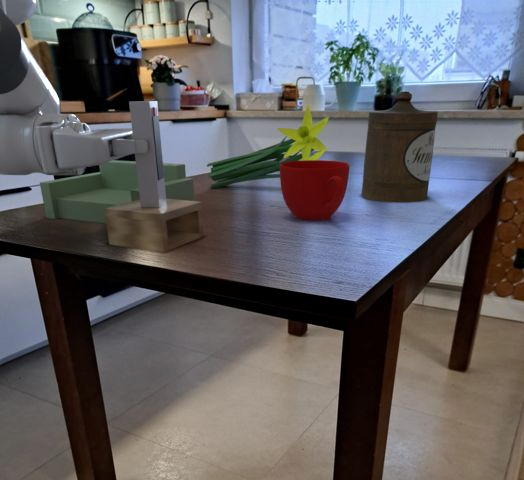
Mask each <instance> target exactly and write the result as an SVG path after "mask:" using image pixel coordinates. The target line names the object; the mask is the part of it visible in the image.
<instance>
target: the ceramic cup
mask: <svg viewBox="0 0 524 480" xmlns="http://www.w3.org/2000/svg"><path fill="white" fill-rule="evenodd" d="M279 174H280V178H279V180H280V188H281V189H280V190H281V193H282V198H283V201H284V203H285V205H286V207H287V208H288V210H289V211H290V213H291V214H292V215H293V216H294V218H295V219H296V220H300V221H306V222H321V221H327V220H330V219H331V217H332V216H333V215H334V214H335V213H336V212H337V211H338V210H339V208H340V206H341V205H342V203H343V201H344V199H345V195H346V193H347V189H348V182H349V176H350V164H349V162H345V161H337V160H320V159H318V160H305V161H300V160H298V161H291V162H285V163H282V164H280V171H279Z"/></svg>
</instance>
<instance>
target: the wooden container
mask: <svg viewBox="0 0 524 480" xmlns="http://www.w3.org/2000/svg"><path fill="white" fill-rule="evenodd" d="M412 99H413V94H412V93H411V92H410V91H400V92H399V93H397V94H396V96H395V100H396V101H397V102H396V103H395V104H394V105H393V106H392V107H390V108H389V109H384V110H371V111H369V112H368V117H367V122H368V123H367V130H366V131H367V132H366V142H365V151H364V160H363V171H362V183H361V197H362V198H363V199H365V200H370V201H375V202H381V203H382V202H383V203H416V202H422V201H425V200H427V199H428V193H429V185H430V178H431V173H432V172H431V171H432V164H433V156H434V146H435V137H436V129H437V122H438V111H436V110H422V109H418V108H416V106H414V105H413V104H412V102H411V101H412Z"/></svg>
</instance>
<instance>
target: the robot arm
mask: <svg viewBox="0 0 524 480" xmlns="http://www.w3.org/2000/svg"><path fill="white" fill-rule="evenodd" d="M36 8H37V0H0V175H1V176H28V175H32V174H37V173H38V174H43V175H46V176H80V175H83V173H85V171H86V170H87V169H86V168H87V167H96V166H99V165H100V164H104V163H106V162H109V161H112V160H118V159H121V158H124V157H127V156H129V155H133V154H134V155H135V153H147V152H149V150H150V147H149V141H148V140H133V133H132V127H131V128H99V129H92V130H91V129H90V126H89V125H88V124H87V123H85V122H81V121H80V119H79V118H78V117H77V116H76V115H75V114H73V113H61V110H62V105H61V104H62V103H61V100H60V98H59V95H58V94H57V91H56V90H55V88H54V86H53V85H52V84H51V82H50V80H49V79H48V77H47V75H46V74H45V72H44V71H43V69H42V68H41V66H40V65H39V63H38V62H37V60H36V58H35V57H34V55H33V53H32V52H31V50H30V49H29V47H28V45H27V43H26V41H25V40H24V37H23V35H22V34H21V32H20V30H19V29H18V27H17V26H19V25H21V24H24V23H26V22H27V21H28V20H29V19H30V18H31V17H32V16H33V15H34V14H35V11H36Z"/></svg>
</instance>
